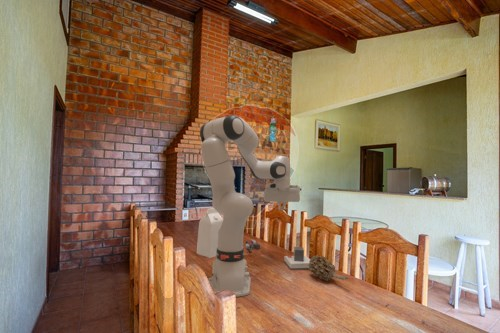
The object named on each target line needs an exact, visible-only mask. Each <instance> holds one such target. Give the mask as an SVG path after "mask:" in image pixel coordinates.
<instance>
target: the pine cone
mask: <svg viewBox="0 0 500 333" xmlns="http://www.w3.org/2000/svg"><path fill="white" fill-rule="evenodd" d="M309 263H310V264H309V265H308V266H309V269H308V270H309V272H310V273H312V275H313V276H314V277H318V279H320V280H321V281H322V280H324V281H325V282H329V280H332V278H333V279H334V278H335V279H337V280H342V281H347V280H348V279H349V276H348V275H345V276H343V275H341V276H340V275H338V274H336V265H335V264H333V263H332V261H331V260H329V259H327V257H326V256H323V255H316V254H315V255H313V256H312V257H311V258H310V261H309Z"/></svg>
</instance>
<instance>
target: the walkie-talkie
mask: <svg viewBox="0 0 500 333" xmlns="http://www.w3.org/2000/svg"><path fill="white" fill-rule="evenodd" d="M245 248H246V250H248V251H249V252H251V253H252V250H260V249H261V245H260V244H259V242H258V241H257V240H256V239H247V240H246V241H245Z"/></svg>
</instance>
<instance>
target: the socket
mask: <svg viewBox="0 0 500 333" xmlns="http://www.w3.org/2000/svg"><path fill="white" fill-rule="evenodd" d="M283 260H284V261H283V262H284V263H285V264H286V266H287V267H288V268H289V269H290V271H293V270H295V271H301V270H309V266H308V265H309V264H310V263H309V261H310V260H311V258H309V257H308V256H307V255H304V262H303V261H294V255H284V256H283Z"/></svg>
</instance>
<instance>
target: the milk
mask: <svg viewBox="0 0 500 333" xmlns="http://www.w3.org/2000/svg"><path fill="white" fill-rule="evenodd" d="M221 215H222V214H220V213H218V212H217V211H216V210H215V209H214V207H211V208H207V210H206V213H205V215H203V216H202V218H200V220H199V222H198V230H197V231H198V232H197V241H196V242H197V244H196V245H197V246H196V252H195V253H196V254H197V255H200V256H203V257H205V258H208V259H212V258H214V257H216V251H217V248H218V231H219V229H220V228H221V226H222V222H223V217H222V216H221Z"/></svg>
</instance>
